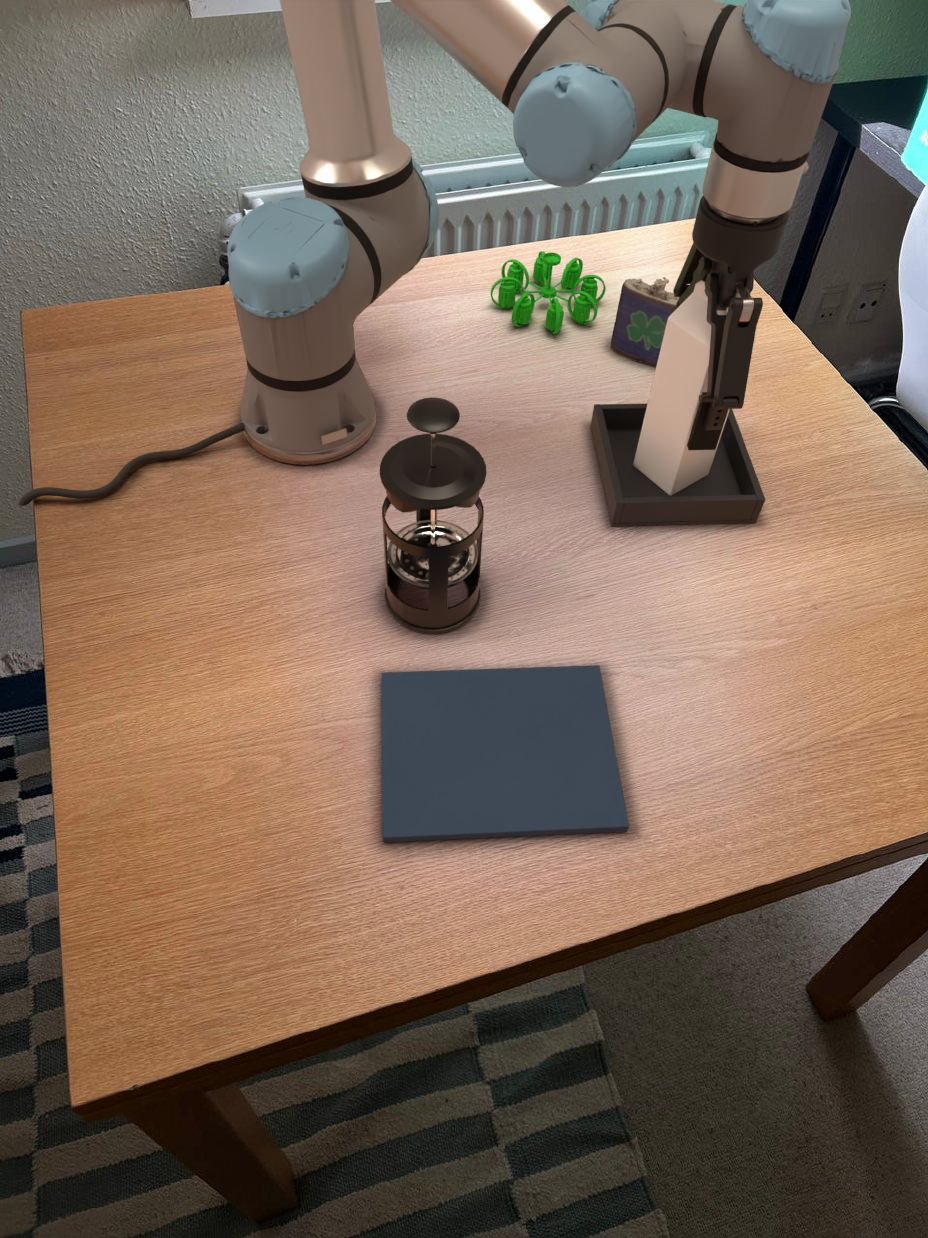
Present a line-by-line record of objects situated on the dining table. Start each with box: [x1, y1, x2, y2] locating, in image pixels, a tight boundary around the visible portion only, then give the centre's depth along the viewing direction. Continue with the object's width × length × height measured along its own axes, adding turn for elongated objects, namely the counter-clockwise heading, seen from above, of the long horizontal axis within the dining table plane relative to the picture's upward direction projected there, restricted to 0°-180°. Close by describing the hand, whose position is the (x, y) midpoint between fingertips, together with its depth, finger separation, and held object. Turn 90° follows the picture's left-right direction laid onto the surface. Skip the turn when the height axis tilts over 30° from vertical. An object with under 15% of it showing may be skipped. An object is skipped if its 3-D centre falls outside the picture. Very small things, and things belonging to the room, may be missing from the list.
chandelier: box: [490, 250, 606, 335], centre depth 118 cm, size 15×15×7 cm
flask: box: [610, 276, 679, 368], centre depth 110 cm, size 9×3×11 cm, turn 61°
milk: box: [633, 280, 730, 496], centre depth 92 cm, size 6×6×22 cm
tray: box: [589, 403, 766, 527], centre depth 100 cm, size 16×16×4 cm
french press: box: [379, 396, 488, 635], centre depth 81 cm, size 12×9×23 cm
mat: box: [381, 664, 630, 843], centre depth 79 cm, size 20×16×1 cm
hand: (688, 407), depth 94 cm, fingers open, 11 cm apart
